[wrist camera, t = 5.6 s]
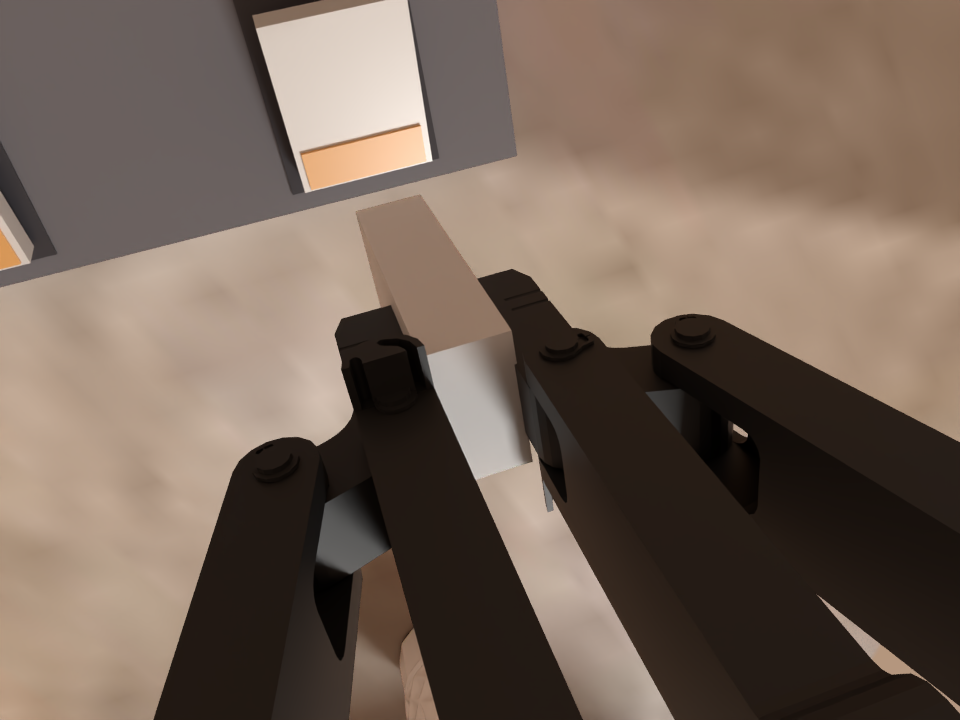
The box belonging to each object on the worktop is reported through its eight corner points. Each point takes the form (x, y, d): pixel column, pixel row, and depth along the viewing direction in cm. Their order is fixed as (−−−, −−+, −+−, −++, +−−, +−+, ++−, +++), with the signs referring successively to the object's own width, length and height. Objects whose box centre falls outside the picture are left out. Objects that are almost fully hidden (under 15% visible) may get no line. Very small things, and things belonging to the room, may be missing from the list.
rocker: (299, 172, 25) (305, 194, 24) (250, 10, 21) (256, 29, 20) (422, 141, 25) (433, 162, 24) (395, -21, 21) (407, -4, 21)
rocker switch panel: (-154, 291, 25) (-197, 340, 23) (-393, -51, 20) (-486, -39, 17) (491, 131, 29) (519, 157, 26) (441, -203, 23) (469, -213, 20)
